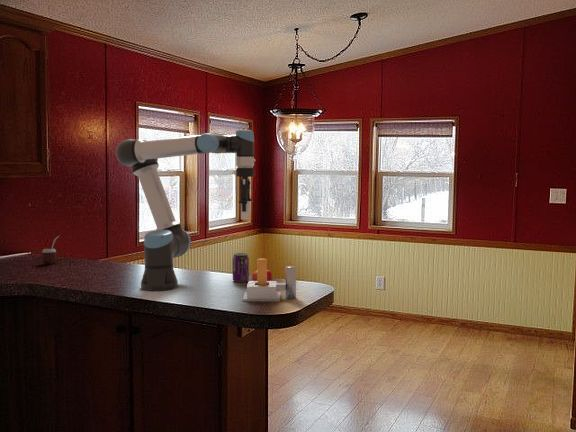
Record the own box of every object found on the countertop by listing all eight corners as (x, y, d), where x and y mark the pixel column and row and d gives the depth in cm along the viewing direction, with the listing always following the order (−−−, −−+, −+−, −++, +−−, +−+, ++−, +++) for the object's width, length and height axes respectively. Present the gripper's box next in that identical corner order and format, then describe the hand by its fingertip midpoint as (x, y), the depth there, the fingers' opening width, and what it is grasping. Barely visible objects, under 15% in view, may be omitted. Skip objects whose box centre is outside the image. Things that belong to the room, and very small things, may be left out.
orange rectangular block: (257, 296, 230) (257, 260, 228) (257, 294, 233) (257, 258, 232) (266, 296, 229) (266, 260, 228) (267, 294, 233) (267, 258, 232)
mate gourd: (40, 264, 310) (38, 235, 309) (55, 262, 315) (54, 234, 314) (45, 266, 304) (44, 236, 303) (61, 264, 310) (60, 235, 308)
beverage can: (246, 283, 260) (246, 255, 259) (230, 282, 262) (230, 255, 260) (250, 279, 267) (250, 253, 266) (235, 279, 268) (235, 252, 267)
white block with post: (242, 301, 225) (242, 269, 224) (245, 294, 237) (244, 264, 236) (296, 301, 225) (296, 269, 224) (295, 294, 237) (295, 264, 236)
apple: (264, 290, 245) (264, 266, 244) (247, 288, 249) (247, 264, 248) (275, 287, 252) (275, 263, 251) (259, 285, 256) (259, 261, 255)
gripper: (252, 167, 238) (252, 220, 240) (255, 167, 263) (256, 215, 265) (233, 167, 239) (233, 220, 240) (238, 167, 263) (239, 215, 265)
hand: (245, 218), depth 253 cm, fingers open, 13 cm apart
